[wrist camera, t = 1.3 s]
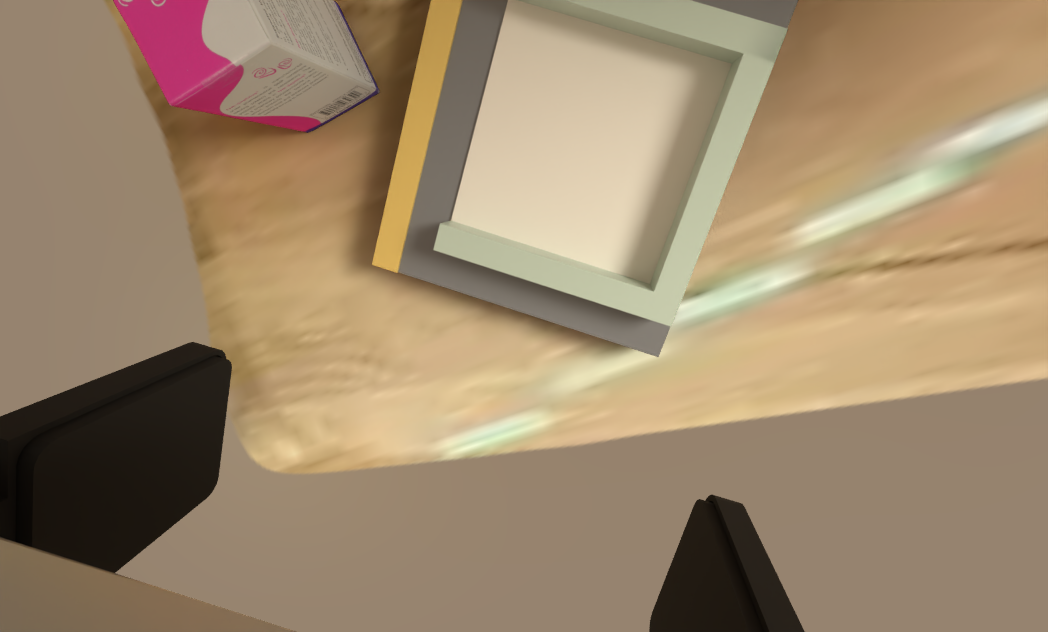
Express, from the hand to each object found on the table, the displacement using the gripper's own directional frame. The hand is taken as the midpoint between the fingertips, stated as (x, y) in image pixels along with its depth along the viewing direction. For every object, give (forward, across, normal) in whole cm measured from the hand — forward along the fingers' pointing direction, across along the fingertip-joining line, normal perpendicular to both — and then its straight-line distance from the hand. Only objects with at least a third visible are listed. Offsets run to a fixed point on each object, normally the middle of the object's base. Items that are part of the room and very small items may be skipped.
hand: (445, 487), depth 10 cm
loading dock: (+25, +1, -8) cm, 26 cm away
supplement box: (+26, +17, -9) cm, 32 cm away
